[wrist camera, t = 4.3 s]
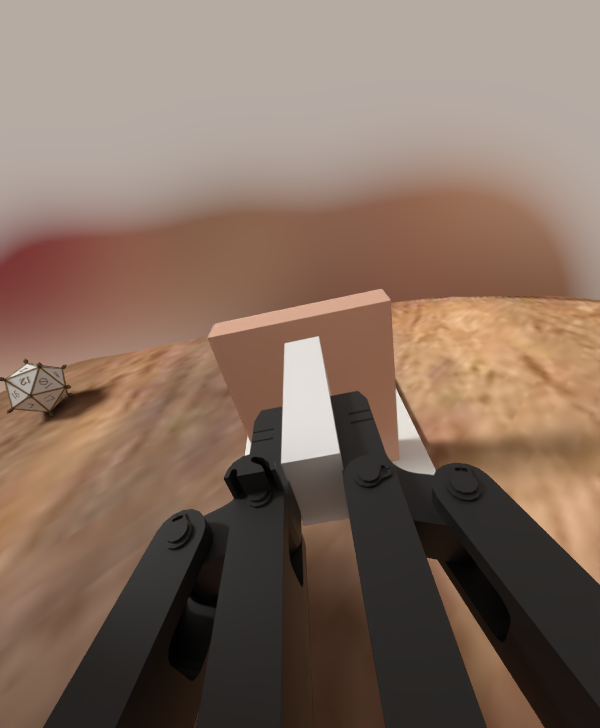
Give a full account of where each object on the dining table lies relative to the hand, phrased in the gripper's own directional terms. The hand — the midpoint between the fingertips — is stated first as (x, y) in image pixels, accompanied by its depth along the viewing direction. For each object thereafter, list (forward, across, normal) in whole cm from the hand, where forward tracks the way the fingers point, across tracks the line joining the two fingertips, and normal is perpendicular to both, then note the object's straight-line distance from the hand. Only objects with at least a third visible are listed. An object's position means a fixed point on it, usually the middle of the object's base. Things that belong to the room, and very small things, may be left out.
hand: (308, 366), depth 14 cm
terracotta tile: (+8, -1, -16) cm, 18 cm away
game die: (+28, -43, -15) cm, 54 cm away
